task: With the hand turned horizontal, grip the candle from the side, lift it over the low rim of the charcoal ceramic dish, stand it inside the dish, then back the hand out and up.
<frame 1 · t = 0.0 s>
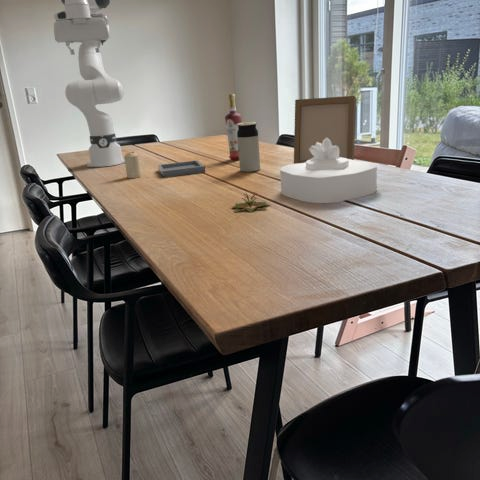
hand: (85, 53, 181), 48 cm above the table, tool pointing down, fingers open, 8 cm apart
olive green leafy cluster: (250, 209, 130), on the table
photo frame: (326, 165, 179), on the table
candle: (134, 177, 188), on the table
liquor: (236, 159, 209), on the table
tissue box: (327, 192, 141), on the table
travel mug: (250, 170, 181), on the table
dish: (181, 171, 191), on the table
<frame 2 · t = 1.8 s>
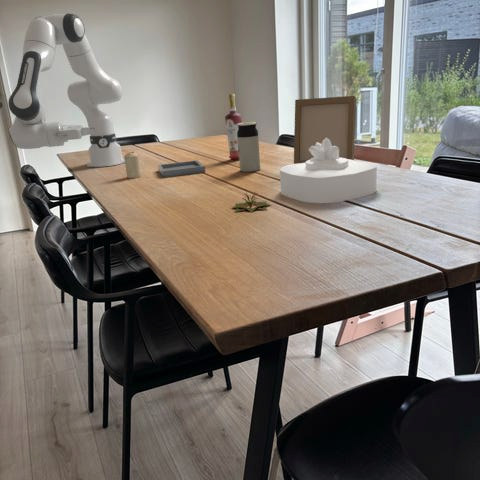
hand: (94, 130, 178), 20 cm above the table, tool horizontal, fingers open, 8 cm apart
nothing on the table moved.
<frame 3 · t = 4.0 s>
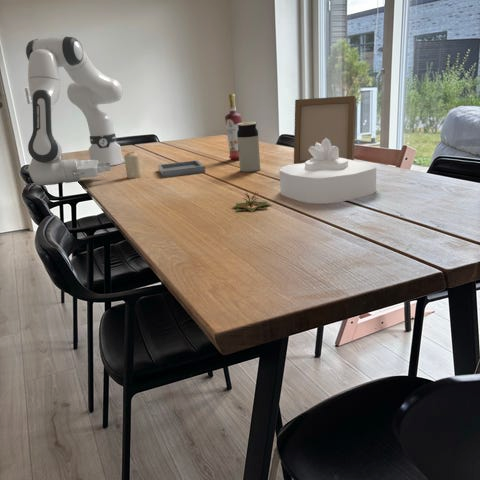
hand: (110, 166, 184), 5 cm above the table, tool horizontal, fingers open, 8 cm apart
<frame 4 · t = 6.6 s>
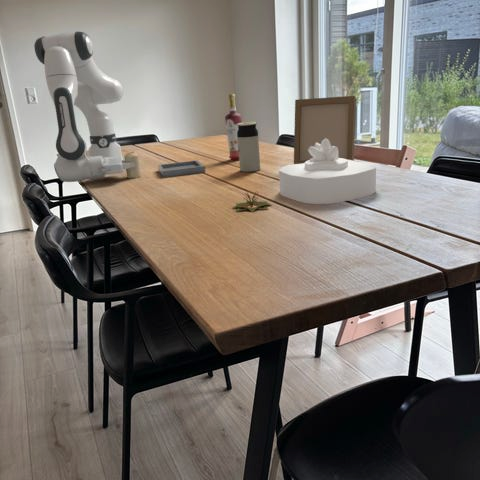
hand: (134, 163, 186), 6 cm above the table, tool horizontal, fingers closed on candle, 5 cm apart
candle: (134, 177, 188), on the table, touching gripper
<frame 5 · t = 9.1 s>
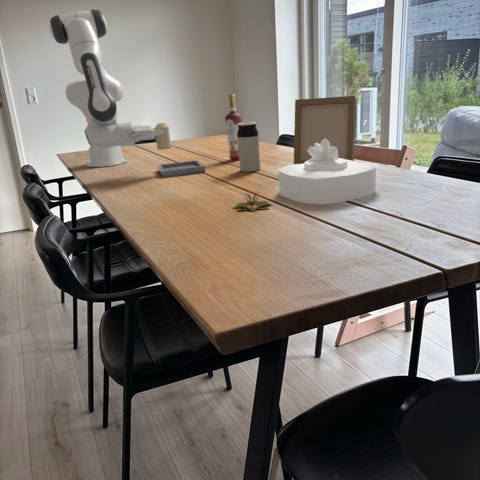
hand: (164, 130, 184), 17 cm above the table, tool horizontal, fingers closed on candle, 5 cm apart
candle: (164, 149, 186), point 10 cm above the table, touching gripper
when the fingers open (8 cm above the table, at t = 11.7 s): candle stays where it is, resting on dish.
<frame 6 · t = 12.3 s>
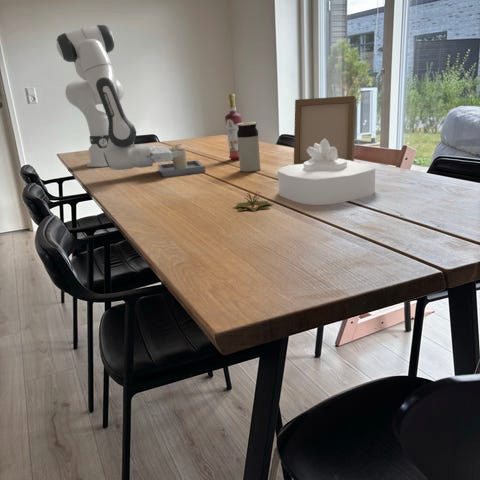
hand: (181, 151, 188), 8 cm above the table, tool horizontal, fingers open, 8 cm apart
candle: (180, 169, 190), point 1 cm above the table, touching dish
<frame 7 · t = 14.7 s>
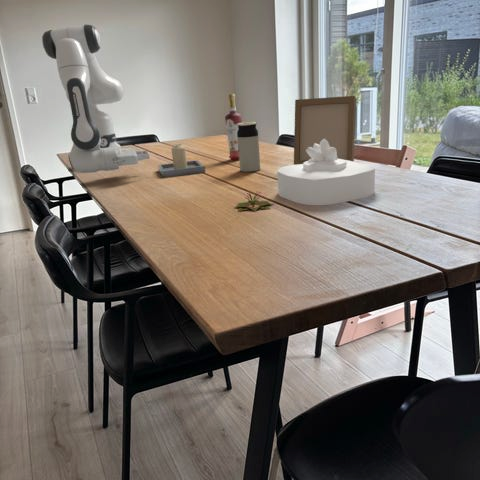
hand: (148, 154, 186), 8 cm above the table, tool horizontal, fingers open, 8 cm apart
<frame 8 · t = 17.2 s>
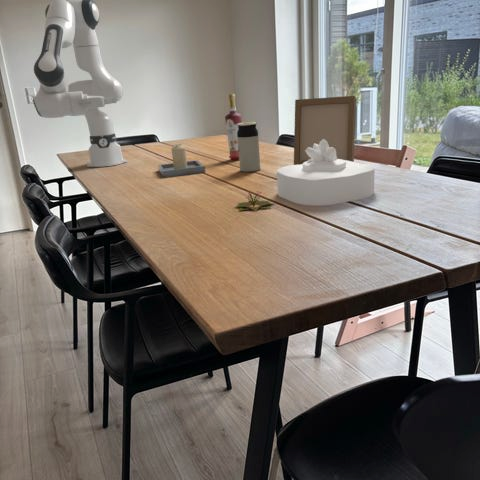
hand: (116, 100, 180), 30 cm above the table, tool horizontal, fingers open, 8 cm apart
at the end: candle inside the target area on the dish (0.1 cm from its centre), point 0.8 cm above the dish's base; candle tilted 0°; the gripper is holding nothing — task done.
